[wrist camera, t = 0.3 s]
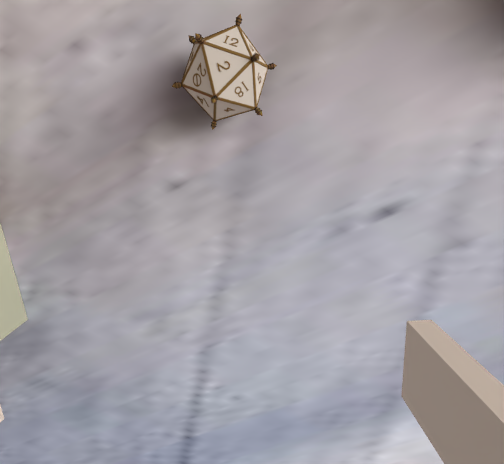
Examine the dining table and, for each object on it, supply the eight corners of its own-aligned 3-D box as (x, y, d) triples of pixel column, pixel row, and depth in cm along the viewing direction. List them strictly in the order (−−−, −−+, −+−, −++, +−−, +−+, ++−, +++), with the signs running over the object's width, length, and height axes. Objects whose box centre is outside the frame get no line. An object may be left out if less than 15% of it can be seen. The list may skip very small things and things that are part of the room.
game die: (231, 109, 38) (211, 162, 32) (176, 45, 34) (139, 92, 27) (296, 61, 33) (287, 113, 27) (241, -21, 29) (214, 17, 22)
